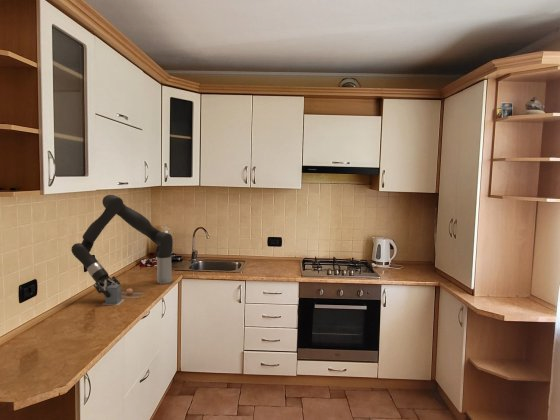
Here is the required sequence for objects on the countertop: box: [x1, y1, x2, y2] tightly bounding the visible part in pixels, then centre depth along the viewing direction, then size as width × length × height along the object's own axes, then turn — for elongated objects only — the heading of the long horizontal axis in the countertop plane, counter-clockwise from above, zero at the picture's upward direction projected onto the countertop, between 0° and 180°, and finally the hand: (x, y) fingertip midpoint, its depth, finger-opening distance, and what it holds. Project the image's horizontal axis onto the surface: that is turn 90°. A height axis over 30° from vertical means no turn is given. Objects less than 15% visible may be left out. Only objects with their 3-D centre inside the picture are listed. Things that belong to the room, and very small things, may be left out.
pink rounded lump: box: [126, 288, 134, 296], centre depth 222 cm, size 3×3×3 cm
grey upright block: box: [104, 283, 122, 304], centre depth 209 cm, size 6×6×9 cm
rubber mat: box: [102, 299, 126, 306], centre depth 209 cm, size 9×9×1 cm
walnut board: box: [121, 290, 146, 300], centre depth 222 cm, size 14×14×1 cm
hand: (115, 294), depth 208 cm, fingers closed on grey upright block, 8 cm apart
